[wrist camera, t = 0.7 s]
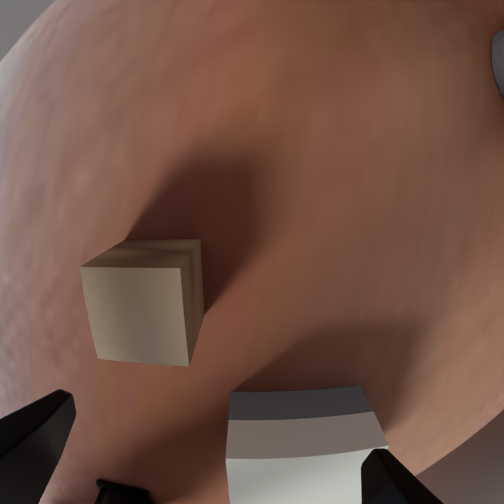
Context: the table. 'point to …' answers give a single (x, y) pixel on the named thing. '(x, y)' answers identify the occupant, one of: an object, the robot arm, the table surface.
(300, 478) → the tower top block
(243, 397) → the tower base block
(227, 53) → the table surface
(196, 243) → the brown faceted block
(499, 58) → the pillar candle
